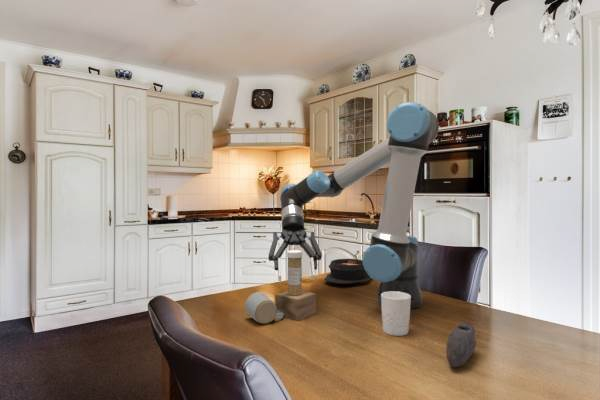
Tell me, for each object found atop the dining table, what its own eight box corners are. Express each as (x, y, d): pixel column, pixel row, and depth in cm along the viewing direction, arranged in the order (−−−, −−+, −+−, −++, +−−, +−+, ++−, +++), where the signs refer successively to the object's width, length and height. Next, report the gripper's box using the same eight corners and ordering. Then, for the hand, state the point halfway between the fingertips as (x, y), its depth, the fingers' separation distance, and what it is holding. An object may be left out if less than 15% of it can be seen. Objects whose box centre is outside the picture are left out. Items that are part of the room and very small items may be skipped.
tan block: (316, 313, 120) (316, 293, 120) (297, 320, 113) (297, 299, 113) (294, 307, 126) (294, 288, 126) (275, 314, 119) (275, 294, 119)
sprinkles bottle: (292, 291, 123) (292, 249, 122) (304, 293, 120) (304, 250, 120) (284, 294, 119) (284, 251, 118) (296, 296, 116) (296, 252, 116)
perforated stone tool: (463, 376, 80) (463, 343, 80) (437, 369, 83) (437, 337, 83) (479, 352, 92) (479, 323, 92) (456, 346, 95) (456, 318, 95)
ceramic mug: (255, 327, 108) (255, 300, 108) (244, 318, 115) (245, 293, 115) (288, 321, 113) (289, 295, 113) (276, 313, 120) (276, 289, 120)
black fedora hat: (345, 273, 178) (345, 255, 178) (382, 279, 167) (382, 260, 166) (313, 283, 159) (313, 263, 159) (352, 291, 147) (352, 269, 147)
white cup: (411, 328, 107) (411, 292, 107) (409, 338, 100) (410, 300, 100) (382, 325, 110) (382, 290, 110) (378, 334, 103) (379, 297, 102)
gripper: (323, 228, 135) (331, 283, 120) (260, 228, 133) (260, 285, 118) (326, 214, 130) (334, 270, 115) (260, 214, 128) (259, 271, 113)
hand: (296, 278), depth 116 cm, fingers open, 9 cm apart
